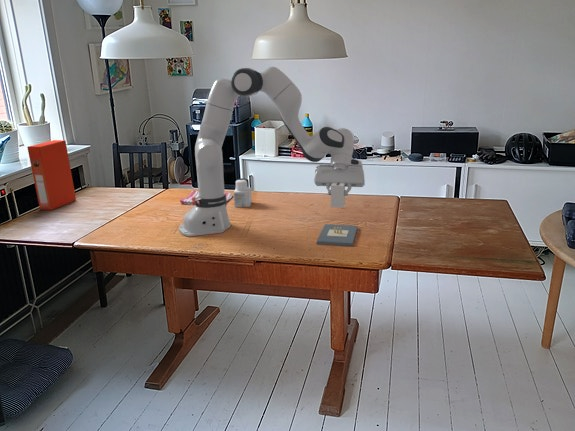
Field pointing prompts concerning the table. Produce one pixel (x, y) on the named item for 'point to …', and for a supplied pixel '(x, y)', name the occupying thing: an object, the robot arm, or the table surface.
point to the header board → (337, 235)
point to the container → (242, 193)
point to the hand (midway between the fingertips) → (337, 194)
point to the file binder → (52, 174)
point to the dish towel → (195, 194)
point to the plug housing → (337, 195)
